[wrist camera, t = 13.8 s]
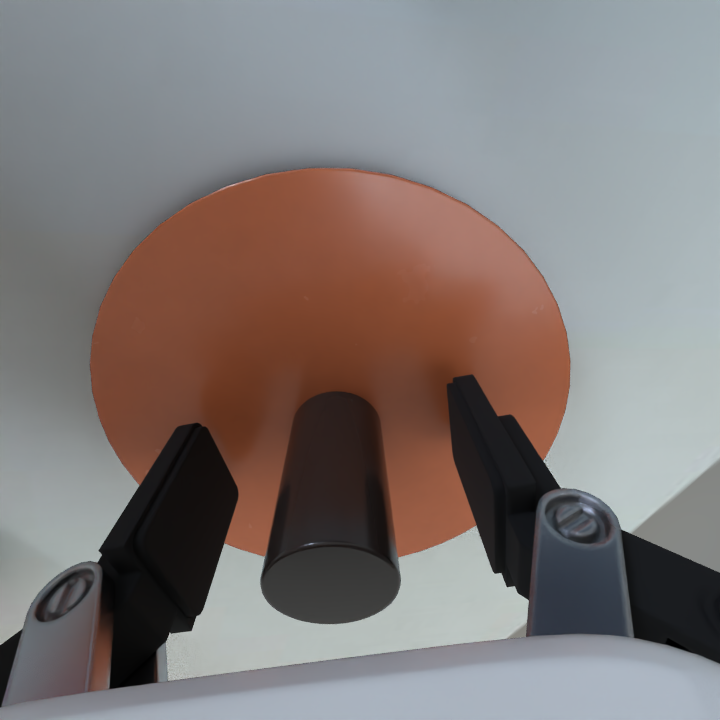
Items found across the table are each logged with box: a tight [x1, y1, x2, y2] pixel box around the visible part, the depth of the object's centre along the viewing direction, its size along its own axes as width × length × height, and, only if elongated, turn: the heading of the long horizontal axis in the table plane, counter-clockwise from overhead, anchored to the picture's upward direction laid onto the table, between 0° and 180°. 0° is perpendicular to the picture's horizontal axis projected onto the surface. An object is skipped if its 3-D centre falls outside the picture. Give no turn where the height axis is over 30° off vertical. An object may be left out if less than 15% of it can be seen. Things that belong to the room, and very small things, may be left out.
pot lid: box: [90, 168, 570, 624], centre depth 10 cm, size 15×15×6 cm
